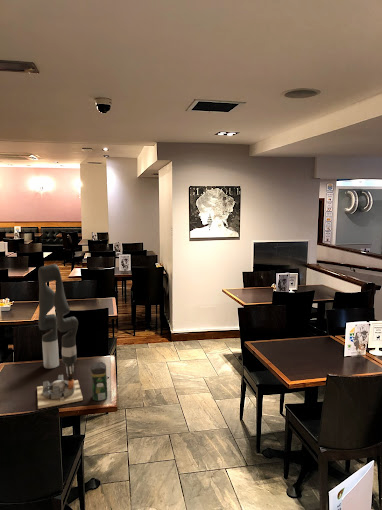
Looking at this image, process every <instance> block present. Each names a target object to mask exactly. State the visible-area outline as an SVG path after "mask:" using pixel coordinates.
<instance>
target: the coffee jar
mask: <svg viewBox="0 0 382 510" xmlns="http://www.w3.org/2000/svg"><path fill="white" fill-rule="evenodd" d="M90 373H91V375H90V377H91V391H92V393H91V394H92V400H94V401H97V402H100V401H101V402H102V401H104V400H106V399H108V380H107V379H108V377H107V375H108V374H107V365H106V363H105V362H103V361H96V362H94V363H93V364H91V368H90Z"/></svg>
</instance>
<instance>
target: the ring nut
mask: <svg viewBox="0 0 382 510" xmlns="http://www.w3.org/2000/svg"><path fill="white" fill-rule="evenodd" d="M57 380H63V381H64V382H65V387H66V388H68V389H66V390H63V391H61V392H60V388H59V386H54V392H52V391H50V390H53V382H54V381H52V382H50V380H46V381H45V380H44V381H43V382H42V386H43V391H42V392H43V396H44V397H46V398H48V399H60V398H61V397H64V398H65V397H67V396H69V395H71V394H73V393H74V390H75V384H74V381H75V380H74V378H72V379H69V380H68V379H67V380H66V379H64V374H58V376H57Z"/></svg>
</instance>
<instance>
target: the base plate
mask: <svg viewBox="0 0 382 510" xmlns="http://www.w3.org/2000/svg"><path fill="white" fill-rule="evenodd" d="M63 380H64V379H63ZM63 380H58V379H57V380H54V381H52V382H53V390H50V391H52V392H54V386H59V388H60V392H61V391H63V390H66V389H68V388H66V387H65V382H64V381H63ZM74 384H75V390H74V393H73V394H71V395H69V396H67V397H65V398H64V397H61V398H60V399H48V398H46V397H44V396H43V392H42V391H43V385H40V386H36V390H37V391H36V392H37V409H38V410H39V409H43V408H50V407H54V406H61V405H65V404H71V403H75V402H76V403H77V402H82V401H83V399H84V398H83V394H82V390H81V388H80V387H81V386H80V382H79V380H78V379H76V380H74Z"/></svg>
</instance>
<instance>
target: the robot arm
mask: <svg viewBox="0 0 382 510" xmlns="http://www.w3.org/2000/svg"><path fill="white" fill-rule="evenodd" d="M37 273H38V275H37V276H38V277H37V278H38V286H39V287H38V290H39V292H38V308H39V309H38V311H39V312H38V321H37V322H38V323H37V325H38V328H39V331H40V330H41V331H48V332H46V333H45V334H43V335H42V336H41V342H42V343H41V344H42V345H41V346H42V360H43V368H45V369H54V368H57V367H59V366H60V356H59V342H58V331H59V332H60V333H65V332H67V333H65V334H63V335H62V336H61V363H62V364H65V369H66V370H65V371H66V374H67V381H68V380H69V379H73V378H74V372H75V371H74V368H75V366H74V363H76V362H77V360H78V357H77V345H76V336H77V331H78V327H79V321H78V318H77V317H75V316H69V317H64V316H66V315H68V314H69V313H70V311H71V310H70V309H71V308H70V306H69V303H68V301H67V297H66V293H65V289H64V284H63V278H62V274H61V270H60V267H59V266H58V265H57V264H55V263H53V264H47V265H42V266H40V267H39V268H38V271H37ZM50 282H55V283H56V287H55V291H54V290H53V289H52V288H51V287H50V286H48V285H47V283H50ZM53 309H55V313H51V314H49V313H50V311H52V310H53Z"/></svg>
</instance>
